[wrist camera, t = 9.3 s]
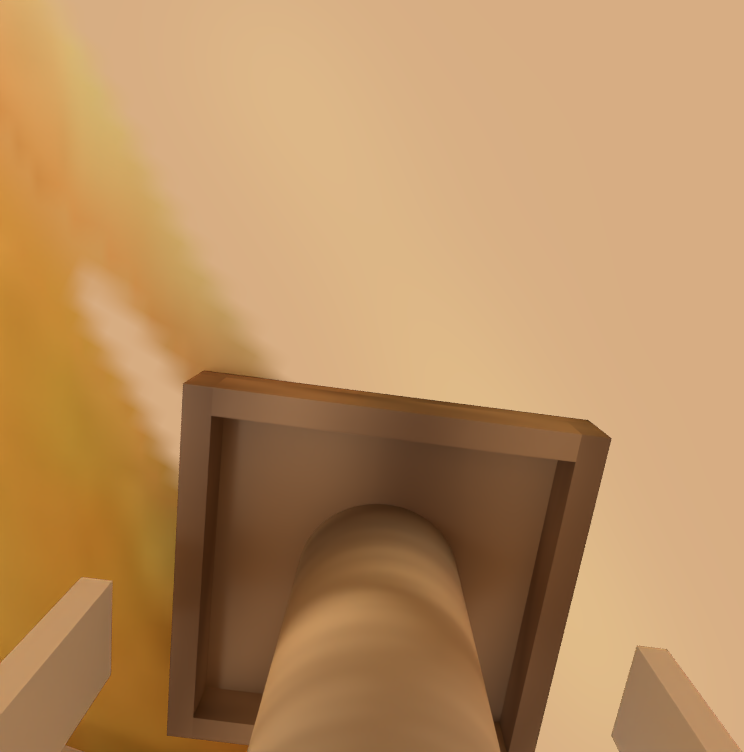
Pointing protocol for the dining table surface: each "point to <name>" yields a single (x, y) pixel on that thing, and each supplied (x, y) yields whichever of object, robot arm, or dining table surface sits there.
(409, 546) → the roller
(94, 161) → the dining table surface
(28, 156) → the dining table surface
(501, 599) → the tray
